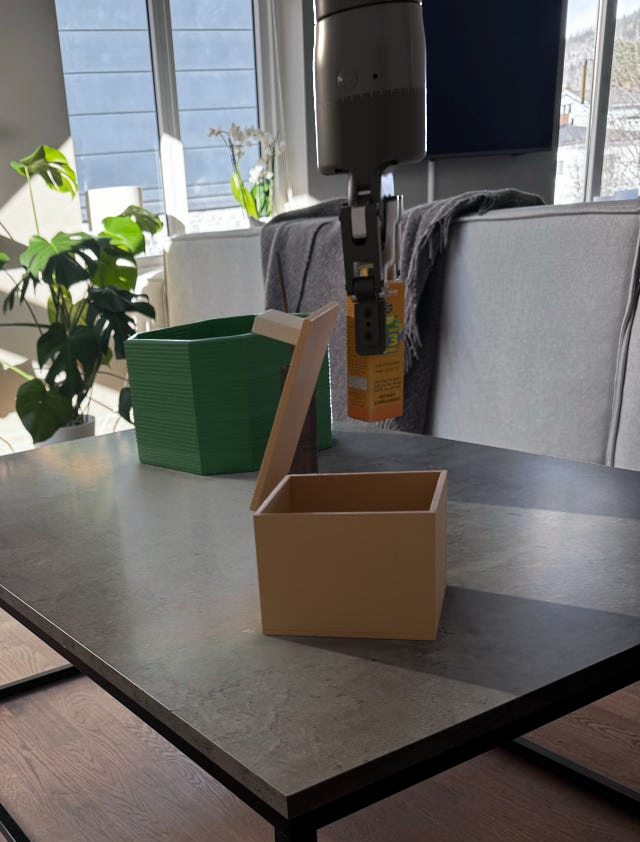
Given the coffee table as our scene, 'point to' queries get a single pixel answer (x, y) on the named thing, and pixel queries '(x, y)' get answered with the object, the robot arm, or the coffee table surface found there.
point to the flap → (292, 387)
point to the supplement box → (377, 364)
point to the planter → (212, 394)
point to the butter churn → (307, 444)
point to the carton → (353, 555)
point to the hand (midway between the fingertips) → (376, 348)
